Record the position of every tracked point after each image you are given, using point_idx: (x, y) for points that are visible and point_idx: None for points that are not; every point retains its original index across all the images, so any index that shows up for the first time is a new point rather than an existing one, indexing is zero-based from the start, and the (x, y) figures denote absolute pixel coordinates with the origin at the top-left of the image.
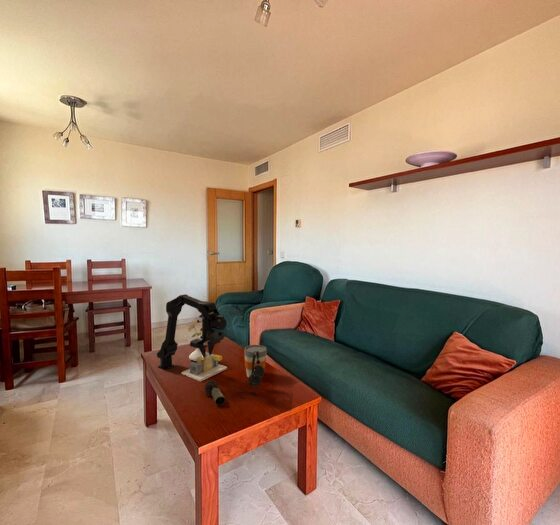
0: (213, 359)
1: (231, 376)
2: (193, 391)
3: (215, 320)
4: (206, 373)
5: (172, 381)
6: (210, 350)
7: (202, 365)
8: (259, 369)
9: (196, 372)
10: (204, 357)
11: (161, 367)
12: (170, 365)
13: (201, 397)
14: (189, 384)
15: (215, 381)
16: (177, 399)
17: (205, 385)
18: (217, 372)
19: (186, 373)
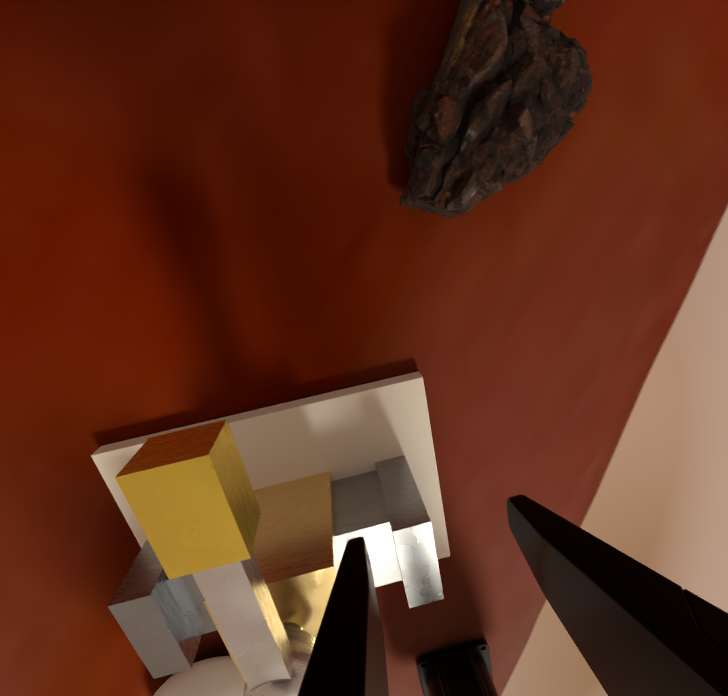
0: (258, 506)
1: (142, 282)
2: (549, 260)
3: None
4: (323, 445)
5: (545, 483)
6: (374, 651)
7: (343, 526)
8: None
9: (411, 474)
10: (294, 624)
11: (489, 665)
12: (453, 663)
13: (574, 117)
14: (500, 380)
15: (451, 111)
16: (688, 230)
17: (567, 128)
18: (226, 419)
19: (437, 524)
